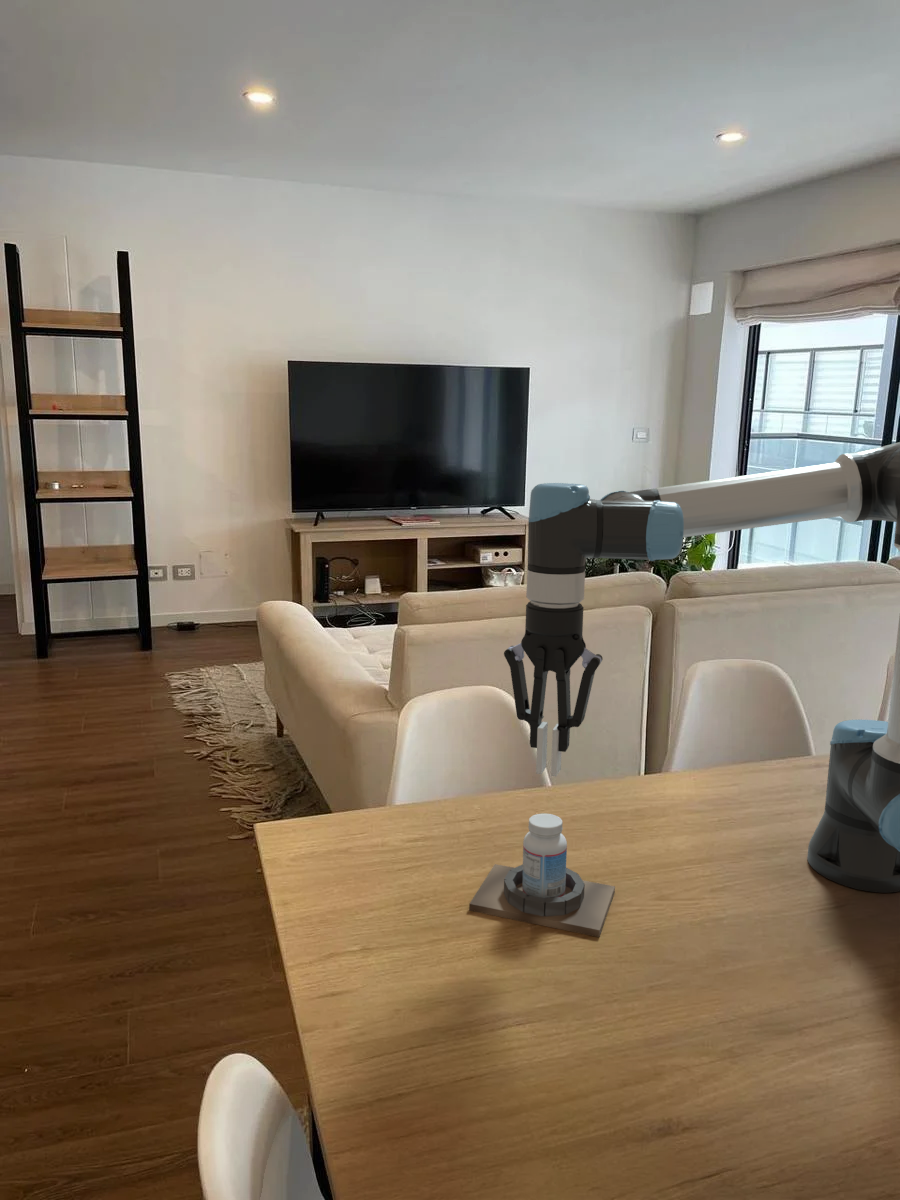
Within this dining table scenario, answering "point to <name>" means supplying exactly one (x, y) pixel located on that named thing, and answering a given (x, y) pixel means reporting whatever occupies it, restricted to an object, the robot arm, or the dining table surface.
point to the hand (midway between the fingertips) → (548, 771)
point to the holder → (545, 901)
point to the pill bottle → (544, 857)
